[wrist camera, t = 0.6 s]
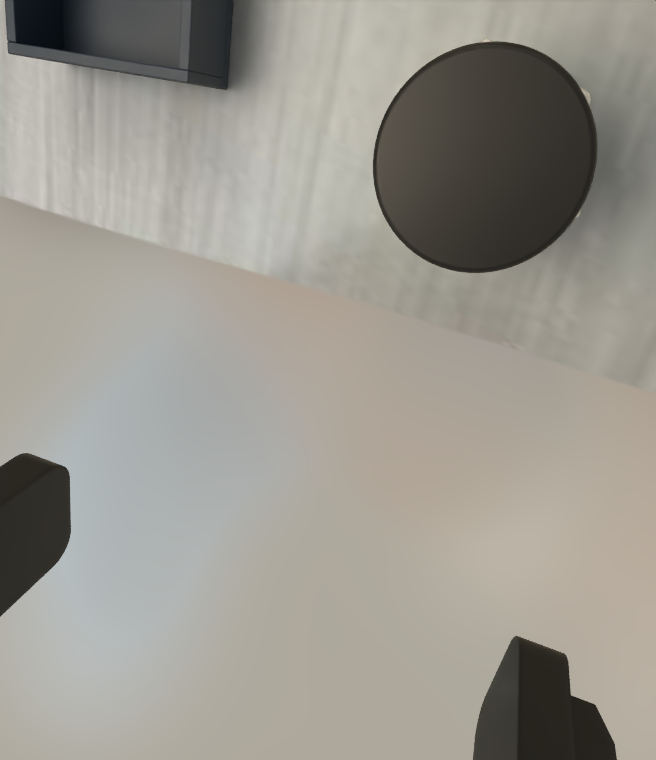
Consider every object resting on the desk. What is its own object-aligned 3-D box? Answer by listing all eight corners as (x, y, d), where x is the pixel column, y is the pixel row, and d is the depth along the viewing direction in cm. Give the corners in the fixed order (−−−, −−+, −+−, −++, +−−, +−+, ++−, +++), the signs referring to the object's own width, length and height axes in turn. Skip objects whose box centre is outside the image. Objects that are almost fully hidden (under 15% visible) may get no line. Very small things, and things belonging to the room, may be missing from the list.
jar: (455, 263, 35) (429, 317, 25) (384, 139, 34) (324, 139, 23) (605, 176, 31) (652, 195, 21) (532, 33, 30) (542, -25, 19)
